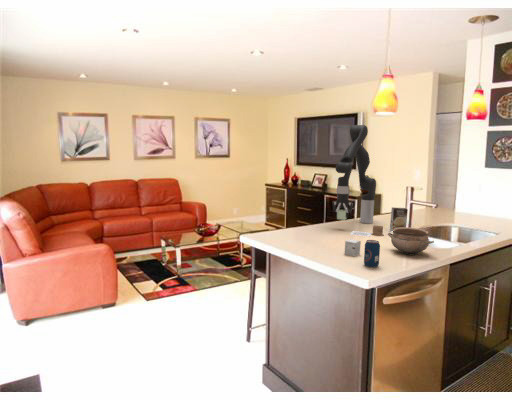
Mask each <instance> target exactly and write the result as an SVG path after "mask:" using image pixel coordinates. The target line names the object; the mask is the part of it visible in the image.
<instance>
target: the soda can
mask: <svg viewBox="0 0 512 400" xmlns="http://www.w3.org/2000/svg"><path fill="white" fill-rule="evenodd" d="M364 243H365V244H364V253H363V255H364V256H363V263H364V266H365V267H367V268H373V269H374V268H377V267H378V266H379V264H380V252H381V249H380V248H381V244H380V241H378V240H374V239H367V240H366V241H365V242H364Z"/></svg>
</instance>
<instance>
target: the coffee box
mask: <svg viewBox="0 0 512 400" xmlns="http://www.w3.org/2000/svg"><path fill="white" fill-rule="evenodd" d="M407 221H408V208H405V207H393V206H392V207H391V212H390V223H389V231H390V232H391V231H393V229H394V228H400V227H407Z"/></svg>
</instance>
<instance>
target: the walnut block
mask: <svg viewBox="0 0 512 400" xmlns="http://www.w3.org/2000/svg"><path fill="white" fill-rule="evenodd" d="M383 230H384V226H383V225H375V224H374V225H373V226H372V235H371V236H373V235H376V236H375V237H383V236H382V234H383ZM383 235H384V234H383Z"/></svg>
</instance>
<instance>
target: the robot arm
mask: <svg viewBox="0 0 512 400" xmlns="http://www.w3.org/2000/svg"><path fill="white" fill-rule="evenodd" d="M368 133H369V129H368V126H367V125H365V124H353V125H351V126H350V128H349V135H350V140H351V142H352V143H351V144H350V145H348V147H347V148H346V149H345V151H344V153H343V156H342V157H341V158H340V160H338V162H337V163H336V164H335V171H336V172H337V173H339V174H344V175H343V176H339V177H338V179H337V189H336V200H335V201H332V203H331V204H332V211H333V212H335V217H337V211H338V210H340V209H344V210H346V218H347V219H348V218H349V213H351V212H352V209H353V206H354V203H353V202H350V200H349V195H350V194H349V191H350V187H349V184H350V183H349V181H350V177H351V174H352V171H353V166H352V164H351V163H352V162H354V159H355V161H356V162H355V163H356V166H357V170H358V171H357V172H358V181H359V187H360V189H361V190H362V191H368V193H365V194H362V196H361V200H360V201H361V202H360V215H359V216H360V218H359V219H360V220H359V222H360V223H361V224H373V223H374V211H375V210H374V209H375V196H376V190H377V189H376V188H377V180H376V179H375V178H373V177H371V178H370V177H366V172H367V170H368V168H369V165H370V163H371V161H370V155H369V151H367V149H366V148H365V147H364V146H363V145H362V144H363V143H364V142H365V140H366V138H367V136H368ZM336 205H337V207H336ZM348 206H349V208H348Z"/></svg>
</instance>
